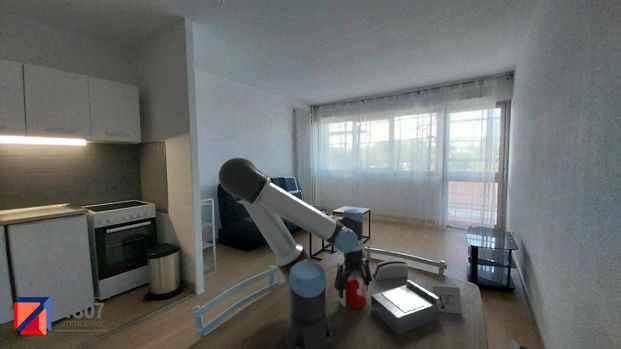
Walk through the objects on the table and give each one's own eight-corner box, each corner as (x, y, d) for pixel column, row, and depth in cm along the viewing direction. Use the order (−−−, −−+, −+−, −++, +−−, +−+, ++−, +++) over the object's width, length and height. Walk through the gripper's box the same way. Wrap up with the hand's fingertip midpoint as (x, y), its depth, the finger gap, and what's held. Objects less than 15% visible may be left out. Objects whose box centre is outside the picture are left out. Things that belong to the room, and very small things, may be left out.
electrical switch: (434, 312, 88) (434, 287, 88) (430, 305, 93) (430, 281, 93) (462, 315, 86) (461, 289, 86) (456, 307, 91) (456, 283, 91)
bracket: (366, 304, 93) (366, 280, 93) (357, 310, 89) (357, 285, 88) (349, 294, 100) (349, 272, 99) (340, 301, 96) (340, 277, 95)
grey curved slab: (402, 271, 119) (406, 256, 115) (407, 279, 115) (411, 263, 111) (371, 274, 117) (374, 259, 113) (375, 282, 112) (378, 266, 108)
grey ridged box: (397, 335, 76) (397, 311, 76) (371, 310, 89) (371, 290, 89) (438, 319, 84) (438, 297, 83) (408, 298, 97) (408, 279, 96)
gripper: (333, 256, 85) (334, 314, 87) (381, 246, 94) (381, 300, 95) (324, 249, 92) (325, 303, 94) (369, 241, 101) (370, 290, 102)
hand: (353, 301), depth 94 cm, fingers open, 9 cm apart
